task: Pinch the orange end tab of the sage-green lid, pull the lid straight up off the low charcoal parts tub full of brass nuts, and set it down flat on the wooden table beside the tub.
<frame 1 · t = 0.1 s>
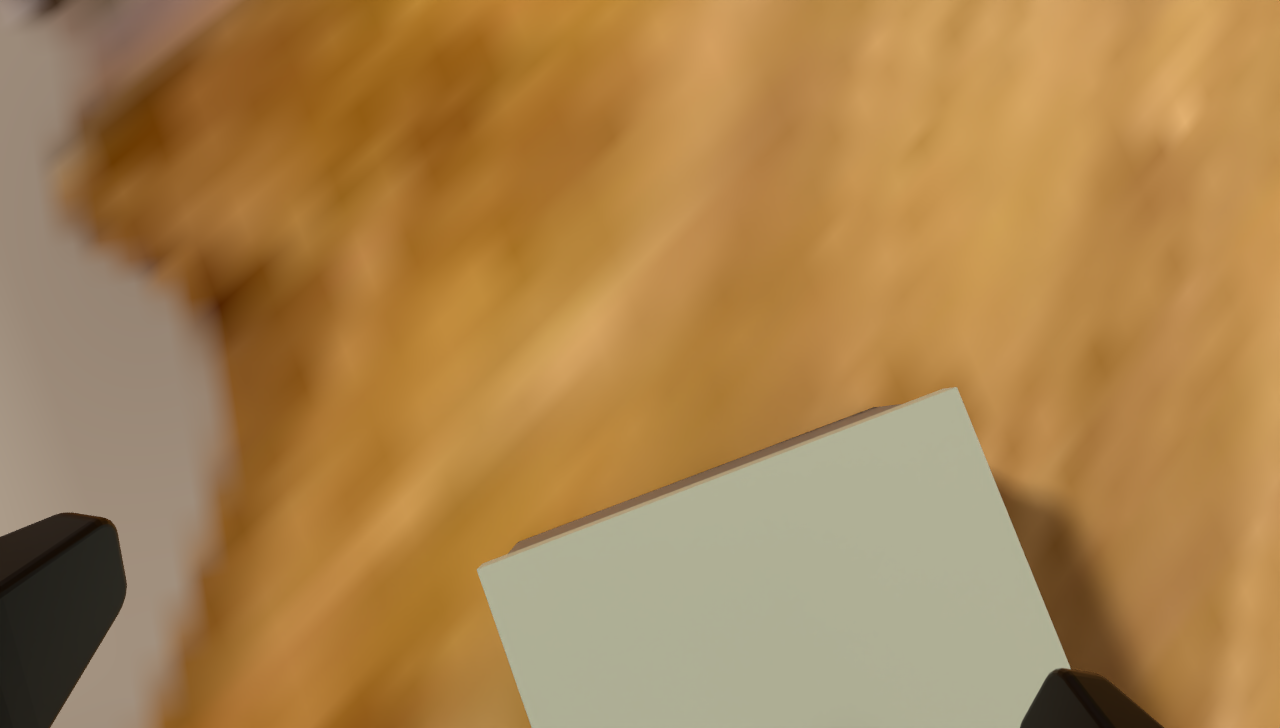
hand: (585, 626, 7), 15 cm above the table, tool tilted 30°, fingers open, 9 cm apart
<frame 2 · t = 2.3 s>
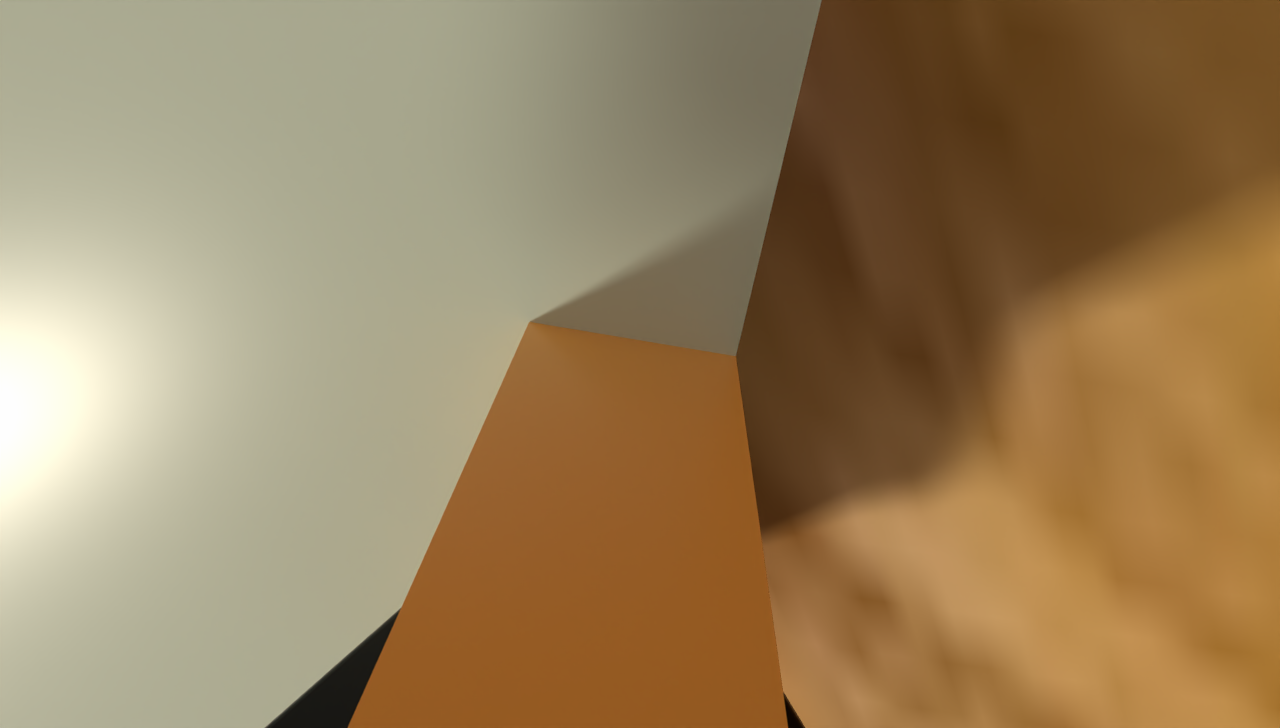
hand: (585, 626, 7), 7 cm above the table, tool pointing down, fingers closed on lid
lid: (56, 362, 10), point 3 cm above the table, touching gripper, tub
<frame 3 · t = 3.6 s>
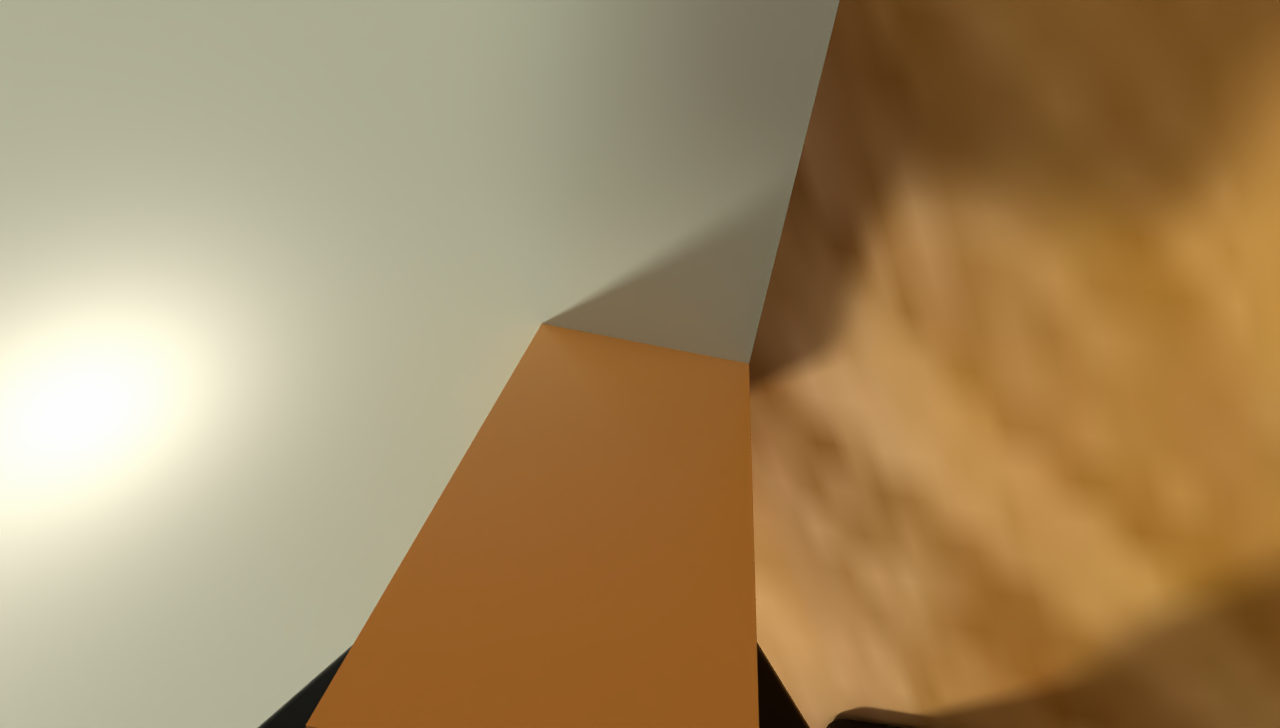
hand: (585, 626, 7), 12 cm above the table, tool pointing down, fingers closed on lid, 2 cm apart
lid: (97, 352, 10), point 9 cm above the table, touching gripper
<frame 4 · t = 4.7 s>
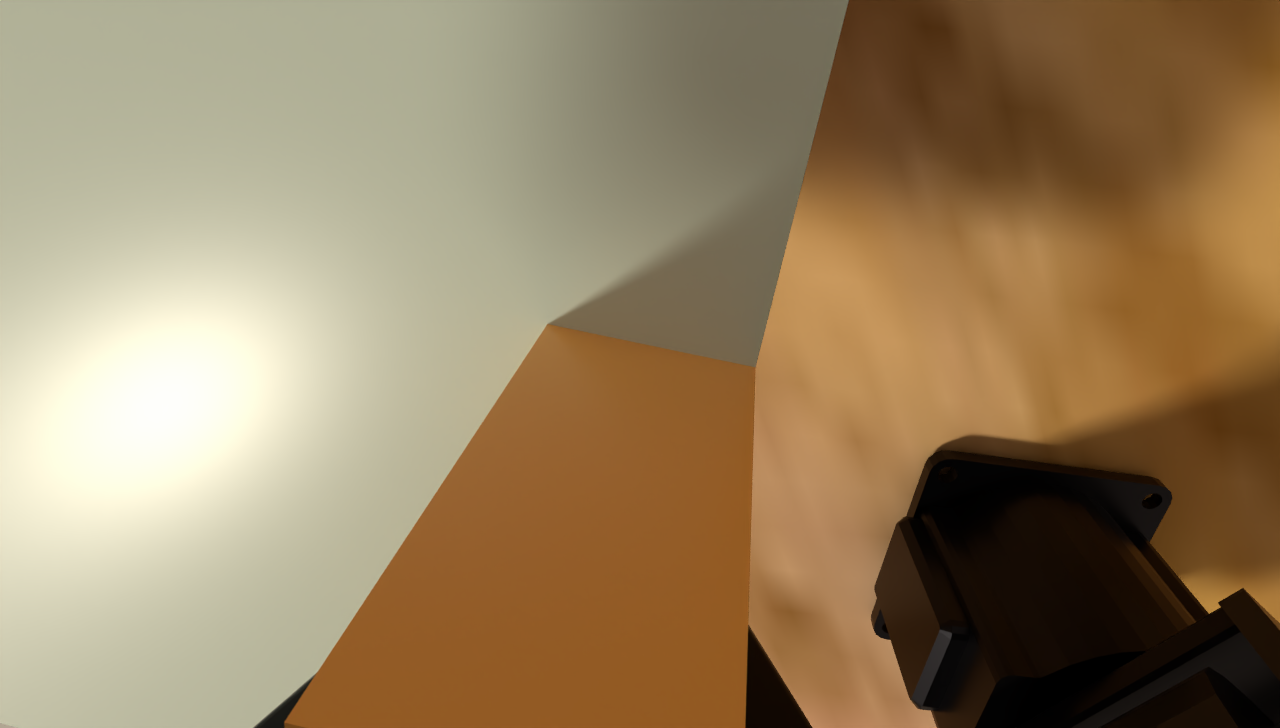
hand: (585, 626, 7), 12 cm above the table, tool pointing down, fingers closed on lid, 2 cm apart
lid: (115, 347, 10), point 9 cm above the table, tilted 6°, touching gripper
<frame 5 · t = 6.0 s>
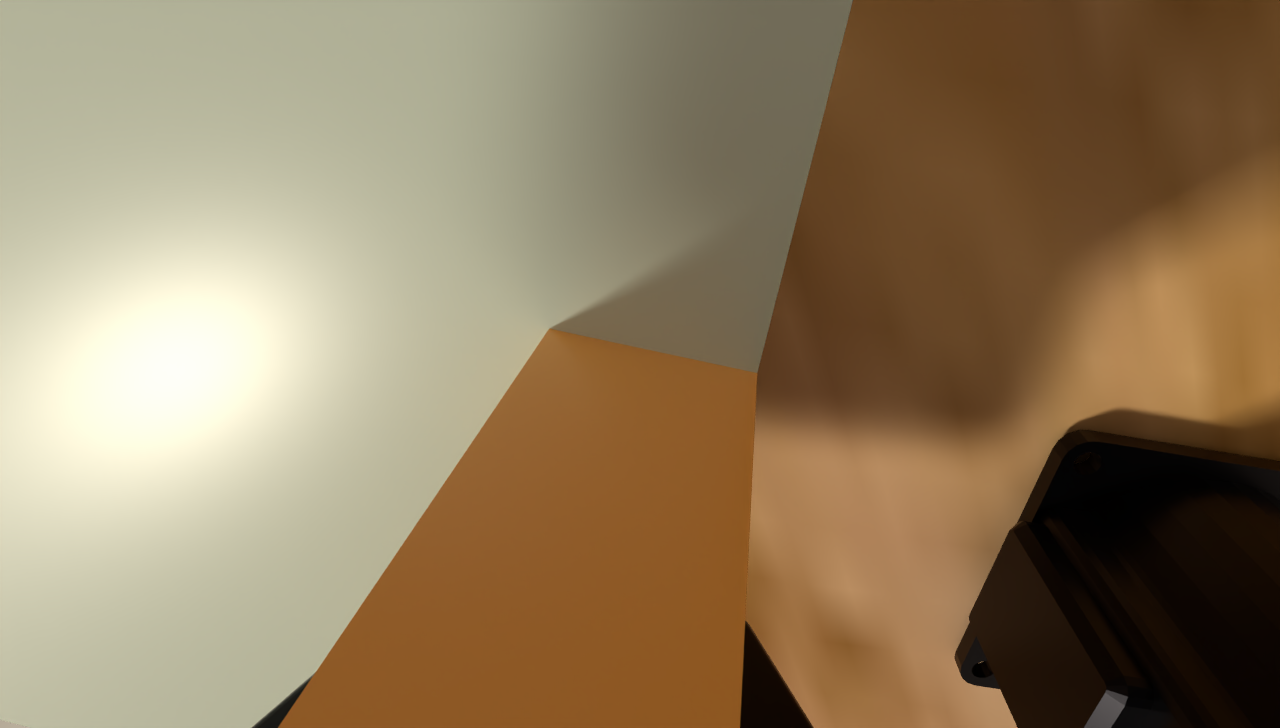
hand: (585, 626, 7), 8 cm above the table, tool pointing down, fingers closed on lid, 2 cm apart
lid: (122, 349, 11), point 4 cm above the table, tilted 7°, touching gripper
when the fingers open (4 cm above the table, at t = 7.2 s): lid stays where it is, on the table.
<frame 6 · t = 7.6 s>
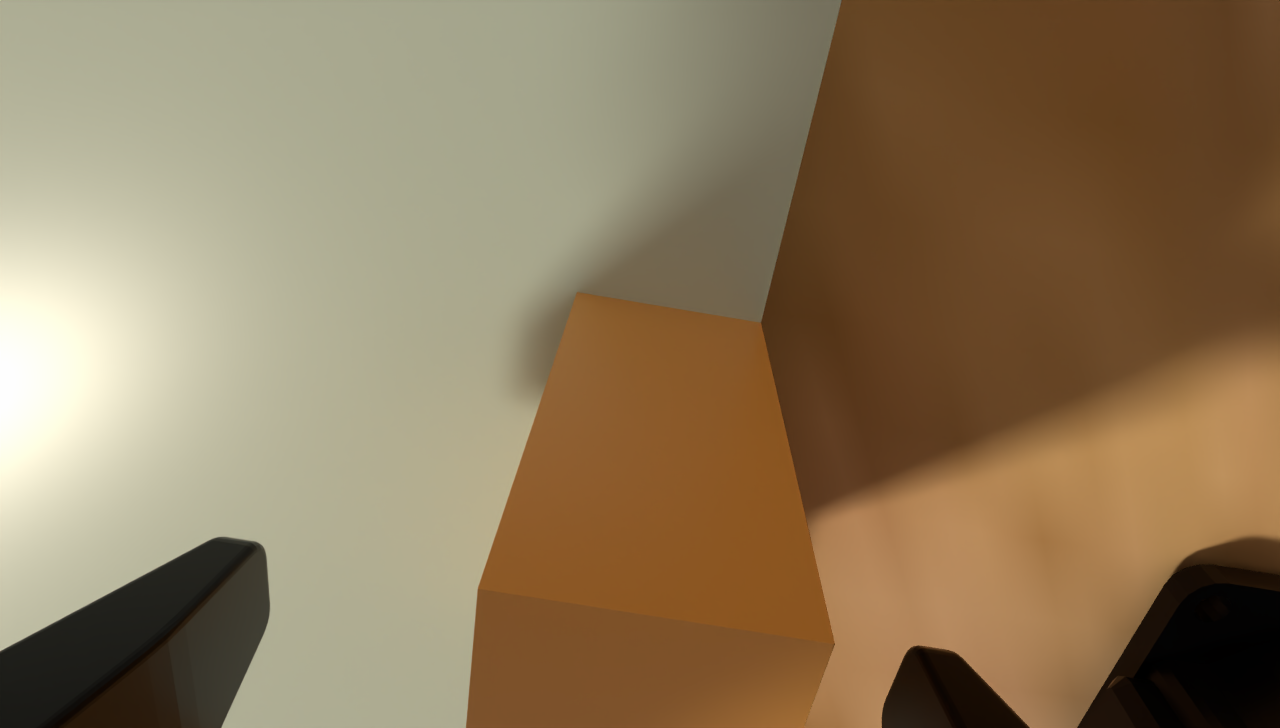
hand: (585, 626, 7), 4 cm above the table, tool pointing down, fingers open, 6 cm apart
lid: (132, 337, 11), on the table
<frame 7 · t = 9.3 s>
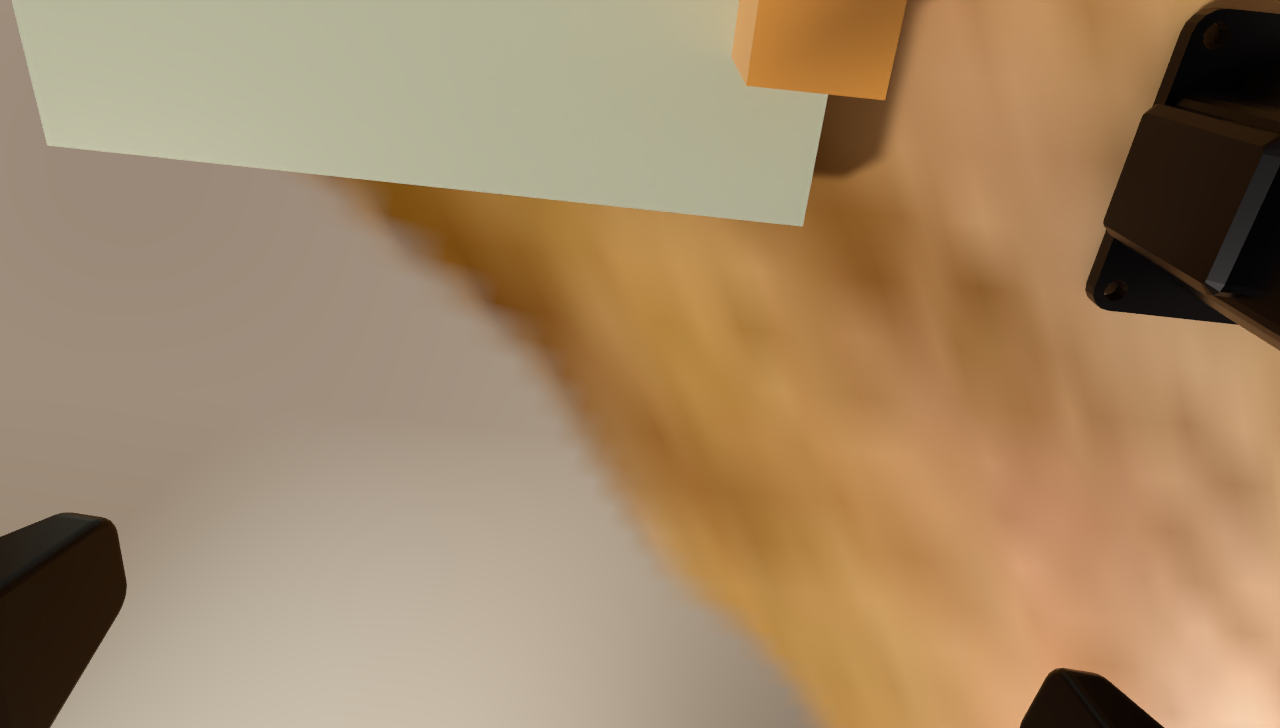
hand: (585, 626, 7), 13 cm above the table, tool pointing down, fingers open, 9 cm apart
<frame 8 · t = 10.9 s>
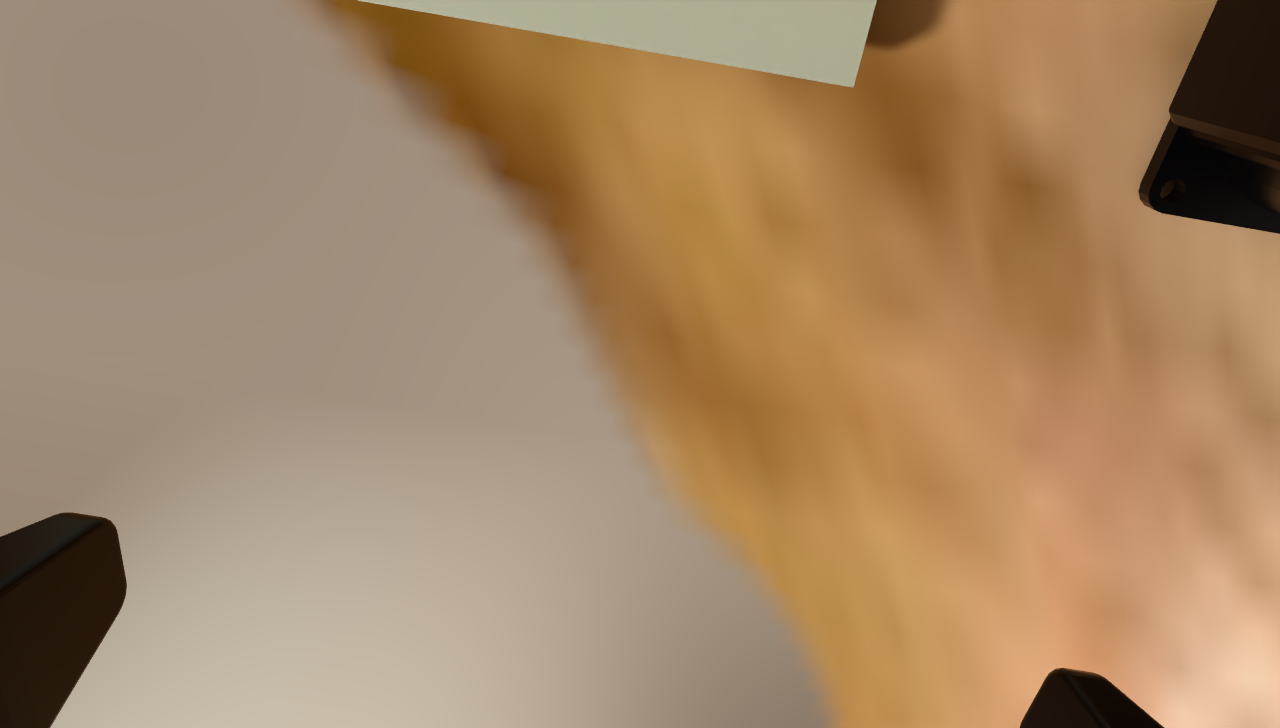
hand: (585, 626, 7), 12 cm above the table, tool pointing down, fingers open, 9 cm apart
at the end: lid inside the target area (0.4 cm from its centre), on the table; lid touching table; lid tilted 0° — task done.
